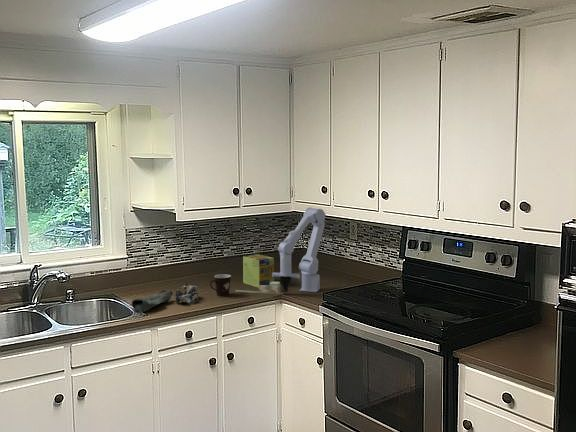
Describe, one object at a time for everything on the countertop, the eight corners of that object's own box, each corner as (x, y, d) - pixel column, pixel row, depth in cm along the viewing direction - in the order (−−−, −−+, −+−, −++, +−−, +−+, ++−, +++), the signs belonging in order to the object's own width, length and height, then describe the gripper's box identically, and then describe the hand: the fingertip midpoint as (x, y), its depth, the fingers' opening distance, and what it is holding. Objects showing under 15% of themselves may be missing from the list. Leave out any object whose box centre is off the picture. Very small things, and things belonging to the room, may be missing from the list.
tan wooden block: (281, 292, 328) (281, 285, 328) (280, 293, 325) (280, 286, 325) (259, 291, 331) (259, 284, 331) (258, 292, 328) (258, 285, 328)
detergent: (147, 314, 291) (182, 301, 312) (145, 299, 290) (180, 287, 311) (126, 312, 297) (162, 299, 319) (125, 298, 297) (161, 286, 318)
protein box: (259, 288, 340) (259, 260, 338) (242, 283, 351) (242, 256, 349) (274, 285, 346) (274, 257, 344) (257, 280, 358) (257, 253, 356)
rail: (283, 293, 327) (283, 292, 327) (282, 294, 326) (282, 293, 326) (236, 290, 334) (236, 289, 334) (235, 291, 332) (235, 290, 332)
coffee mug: (229, 292, 331) (228, 273, 330) (232, 296, 323) (232, 277, 322) (207, 294, 327) (207, 275, 326) (210, 298, 319) (210, 279, 318)
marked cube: (280, 290, 335) (280, 282, 335) (277, 292, 331) (277, 284, 330) (272, 289, 337) (272, 281, 336) (269, 291, 332) (269, 283, 332)
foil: (166, 295, 311) (186, 275, 319) (177, 311, 316) (197, 291, 324) (179, 299, 303) (200, 278, 311) (190, 315, 308) (210, 294, 316)
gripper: (270, 266, 322) (270, 291, 324) (297, 267, 318) (297, 293, 320) (274, 263, 329) (274, 288, 331) (300, 264, 325) (300, 290, 327)
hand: (285, 290), depth 326 cm, fingers closed
